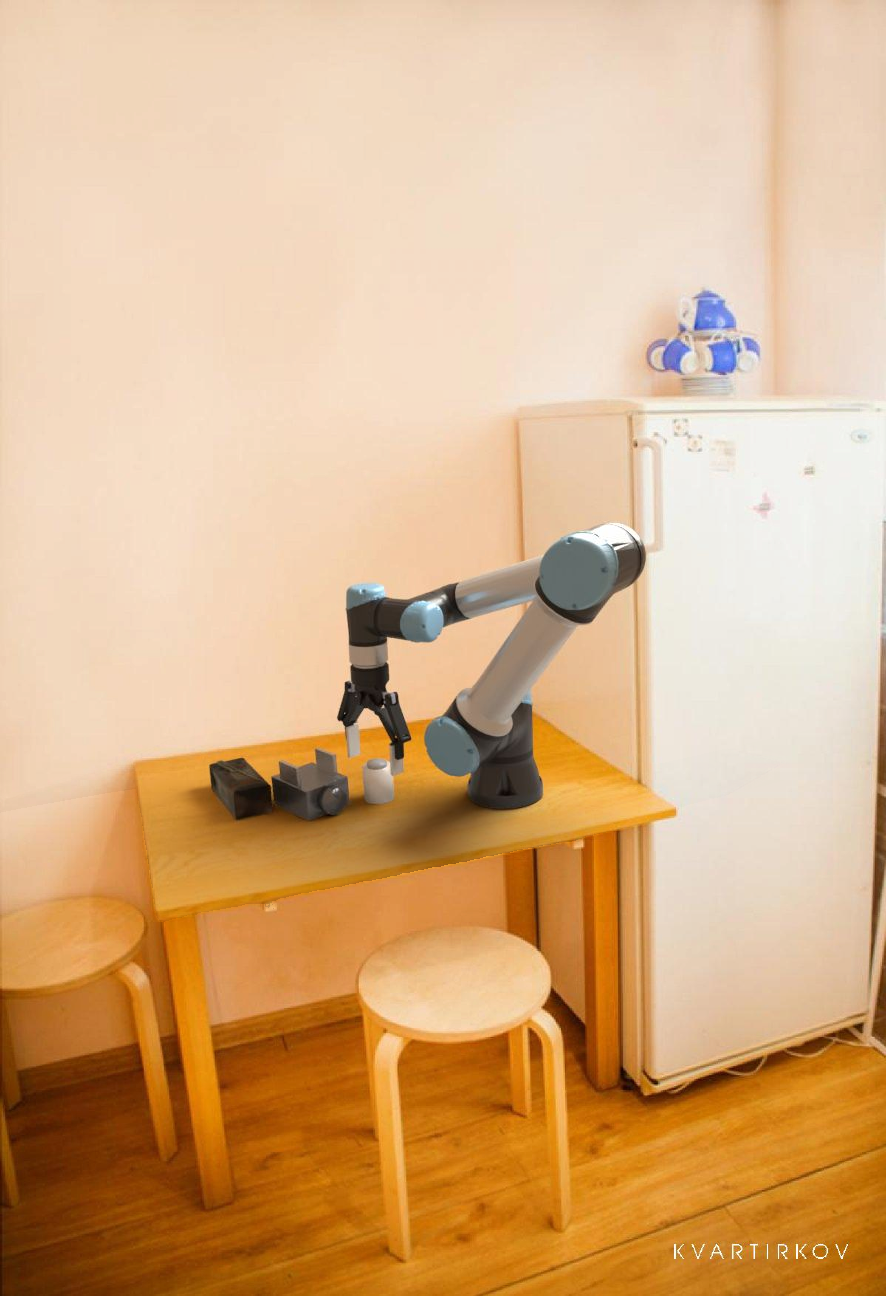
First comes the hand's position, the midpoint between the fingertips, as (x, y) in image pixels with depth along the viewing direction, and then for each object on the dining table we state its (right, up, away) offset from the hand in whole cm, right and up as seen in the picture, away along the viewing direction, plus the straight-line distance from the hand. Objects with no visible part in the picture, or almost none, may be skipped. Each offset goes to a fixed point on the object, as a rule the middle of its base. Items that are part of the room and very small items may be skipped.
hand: (375, 764), depth 198 cm
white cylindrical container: (+1, -7, +2) cm, 7 cm away
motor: (-12, -8, -1) cm, 14 cm away
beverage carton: (-28, -8, +4) cm, 29 cm away
